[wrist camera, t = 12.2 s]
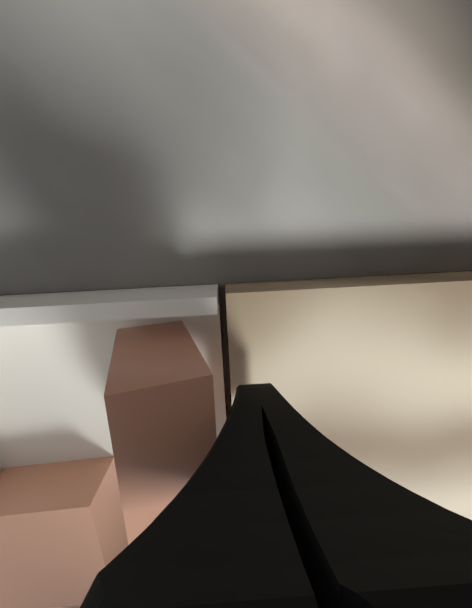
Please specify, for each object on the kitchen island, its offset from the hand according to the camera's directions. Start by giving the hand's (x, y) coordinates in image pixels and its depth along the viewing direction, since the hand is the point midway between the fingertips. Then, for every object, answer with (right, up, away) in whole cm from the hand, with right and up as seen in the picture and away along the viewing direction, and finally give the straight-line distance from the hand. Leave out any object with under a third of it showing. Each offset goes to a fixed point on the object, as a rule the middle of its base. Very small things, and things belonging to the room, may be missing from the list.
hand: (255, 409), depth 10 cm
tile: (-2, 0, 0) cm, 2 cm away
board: (+7, -2, +4) cm, 8 cm away
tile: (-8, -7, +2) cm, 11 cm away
